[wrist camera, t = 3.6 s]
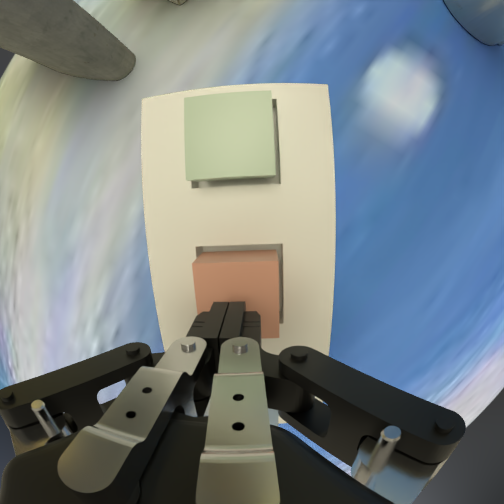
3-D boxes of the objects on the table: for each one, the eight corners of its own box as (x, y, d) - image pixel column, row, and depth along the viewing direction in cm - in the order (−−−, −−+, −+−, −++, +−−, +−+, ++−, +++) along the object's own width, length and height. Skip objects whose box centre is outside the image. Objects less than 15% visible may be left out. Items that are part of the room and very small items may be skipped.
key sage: (270, 105, 15) (271, 90, 12) (273, 177, 16) (275, 175, 13) (196, 111, 15) (184, 97, 13) (198, 181, 16) (185, 180, 14)
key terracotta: (276, 249, 17) (278, 260, 14) (277, 317, 18) (279, 337, 15) (202, 252, 17) (191, 263, 15) (209, 318, 18) (200, 338, 16)
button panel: (316, 102, 18) (327, 84, 15) (313, 392, 24) (319, 420, 20) (162, 112, 19) (142, 98, 15) (191, 392, 25) (182, 419, 21)
